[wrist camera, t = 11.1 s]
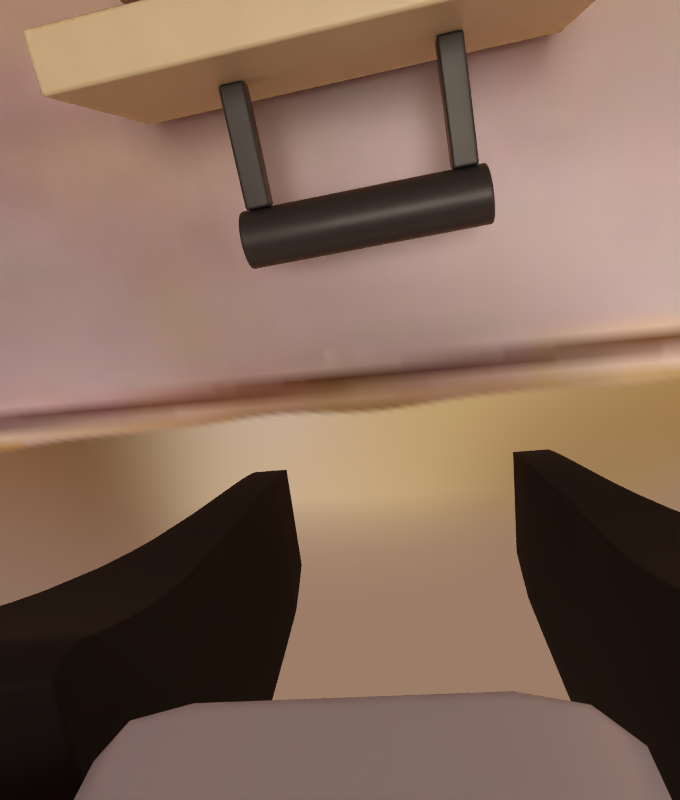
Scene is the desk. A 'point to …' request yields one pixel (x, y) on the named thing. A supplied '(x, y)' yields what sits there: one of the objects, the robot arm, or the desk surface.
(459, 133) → the drawer
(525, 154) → the desk surface
